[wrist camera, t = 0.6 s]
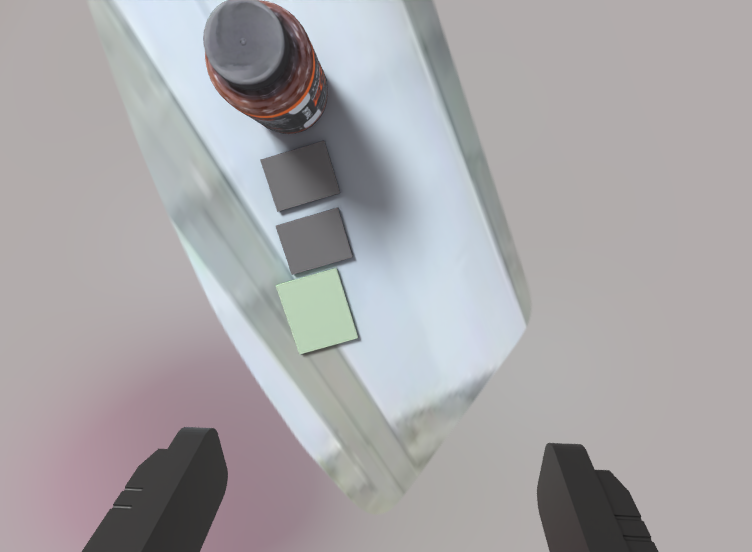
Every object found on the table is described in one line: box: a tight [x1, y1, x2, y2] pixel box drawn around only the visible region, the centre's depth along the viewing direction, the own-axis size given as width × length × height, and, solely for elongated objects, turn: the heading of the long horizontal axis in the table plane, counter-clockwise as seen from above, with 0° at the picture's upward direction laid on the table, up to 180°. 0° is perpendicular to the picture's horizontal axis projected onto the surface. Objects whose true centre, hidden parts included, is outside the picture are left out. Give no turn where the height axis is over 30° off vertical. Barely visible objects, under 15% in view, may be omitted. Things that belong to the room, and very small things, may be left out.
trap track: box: [261, 141, 358, 354], centre depth 34 cm, size 16×7×1 cm, turn 16°
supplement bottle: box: [203, 0, 327, 134], centre depth 27 cm, size 6×6×11 cm
